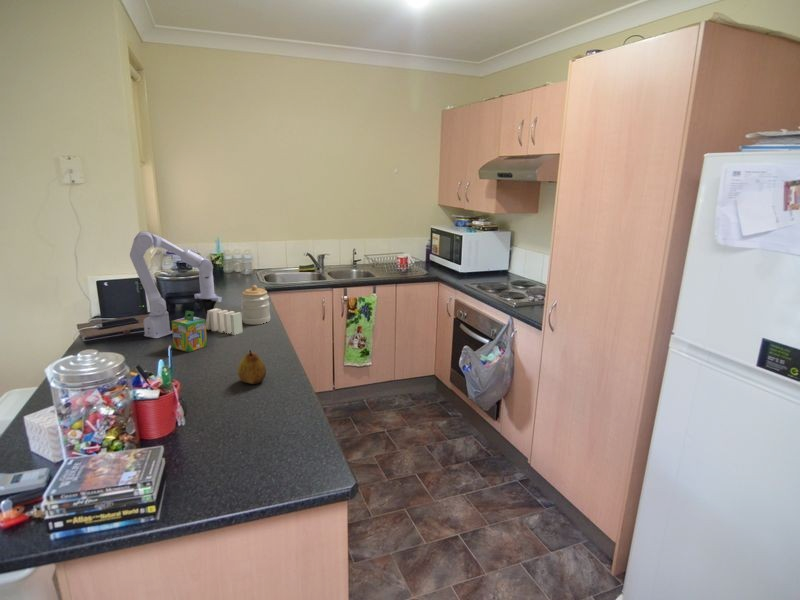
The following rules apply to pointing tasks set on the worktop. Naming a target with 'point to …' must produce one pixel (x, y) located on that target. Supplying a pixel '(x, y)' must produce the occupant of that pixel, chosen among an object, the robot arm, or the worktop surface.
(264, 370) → the fruit
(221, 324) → the domino
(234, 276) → the worktop surface
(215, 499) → the worktop surface
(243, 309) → the jar
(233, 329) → the domino
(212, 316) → the domino
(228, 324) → the domino
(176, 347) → the chalk box
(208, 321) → the domino
